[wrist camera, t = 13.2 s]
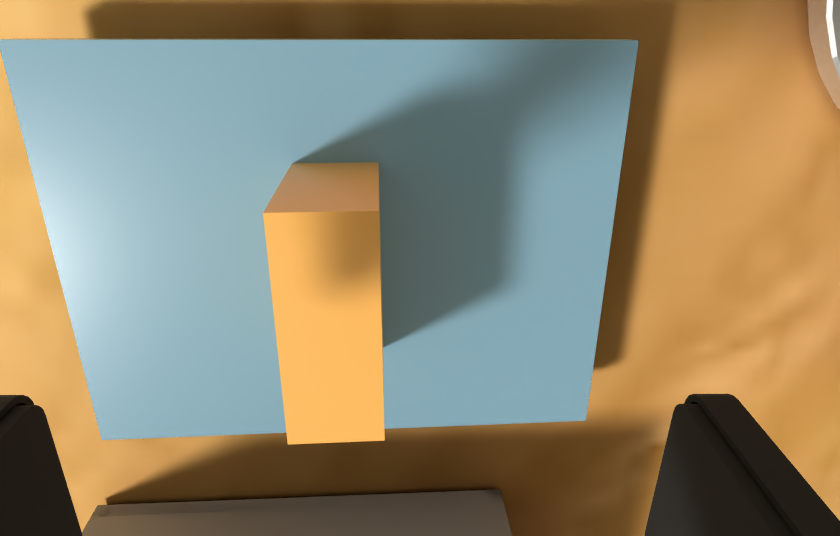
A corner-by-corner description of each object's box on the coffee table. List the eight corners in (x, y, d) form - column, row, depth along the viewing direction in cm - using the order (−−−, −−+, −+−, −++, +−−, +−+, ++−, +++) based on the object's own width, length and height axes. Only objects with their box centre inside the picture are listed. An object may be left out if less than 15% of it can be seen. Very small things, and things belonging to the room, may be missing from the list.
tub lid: (611, 38, 17) (732, 48, 12) (568, 387, 22) (638, 522, 16) (39, 37, 16) (-153, 48, 10) (125, 403, 21) (27, 553, 15)
